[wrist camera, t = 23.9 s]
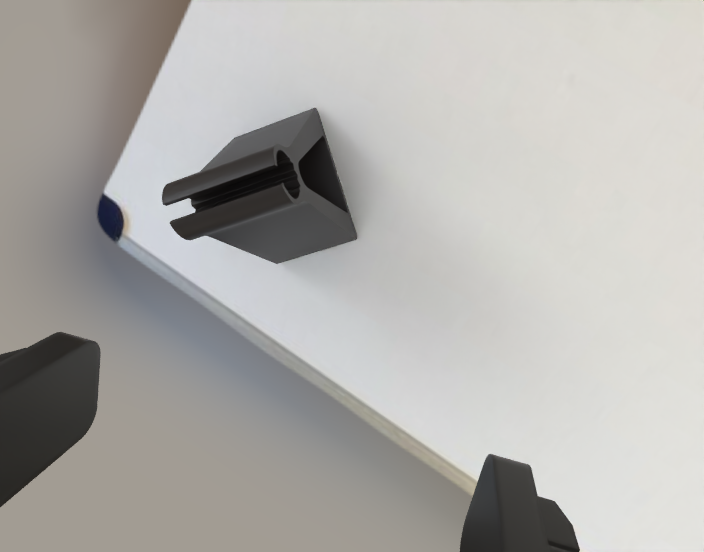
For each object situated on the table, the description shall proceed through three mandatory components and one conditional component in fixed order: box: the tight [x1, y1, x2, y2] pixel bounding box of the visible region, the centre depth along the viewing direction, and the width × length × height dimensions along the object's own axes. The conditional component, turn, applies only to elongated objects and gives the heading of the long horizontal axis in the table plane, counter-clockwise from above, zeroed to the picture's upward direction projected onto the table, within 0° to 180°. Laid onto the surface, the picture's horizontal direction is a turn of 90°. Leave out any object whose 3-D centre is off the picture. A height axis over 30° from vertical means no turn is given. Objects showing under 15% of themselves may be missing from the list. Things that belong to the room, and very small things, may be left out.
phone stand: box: [162, 108, 357, 264], centre depth 31 cm, size 9×6×12 cm, turn 18°
